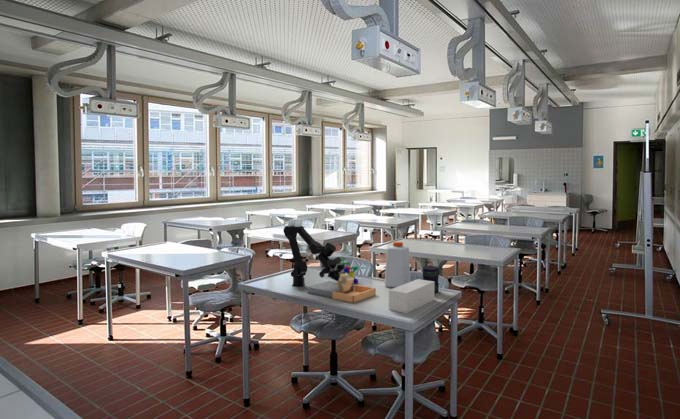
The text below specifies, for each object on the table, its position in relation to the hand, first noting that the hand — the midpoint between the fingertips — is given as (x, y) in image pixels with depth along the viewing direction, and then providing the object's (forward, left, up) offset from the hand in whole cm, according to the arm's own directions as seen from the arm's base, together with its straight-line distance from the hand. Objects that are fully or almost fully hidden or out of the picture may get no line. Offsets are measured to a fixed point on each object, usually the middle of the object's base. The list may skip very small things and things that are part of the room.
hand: (339, 281), depth 279 cm
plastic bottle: (+29, +31, -8) cm, 43 cm away
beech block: (+2, -1, -3) cm, 4 cm away
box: (+10, -4, -7) cm, 13 cm away
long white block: (+45, -9, -8) cm, 47 cm away
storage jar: (+51, +22, -8) cm, 56 cm away
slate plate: (-7, +2, -7) cm, 10 cm away
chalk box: (-12, +40, -8) cm, 42 cm away
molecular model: (-2, +26, -8) cm, 27 cm away
